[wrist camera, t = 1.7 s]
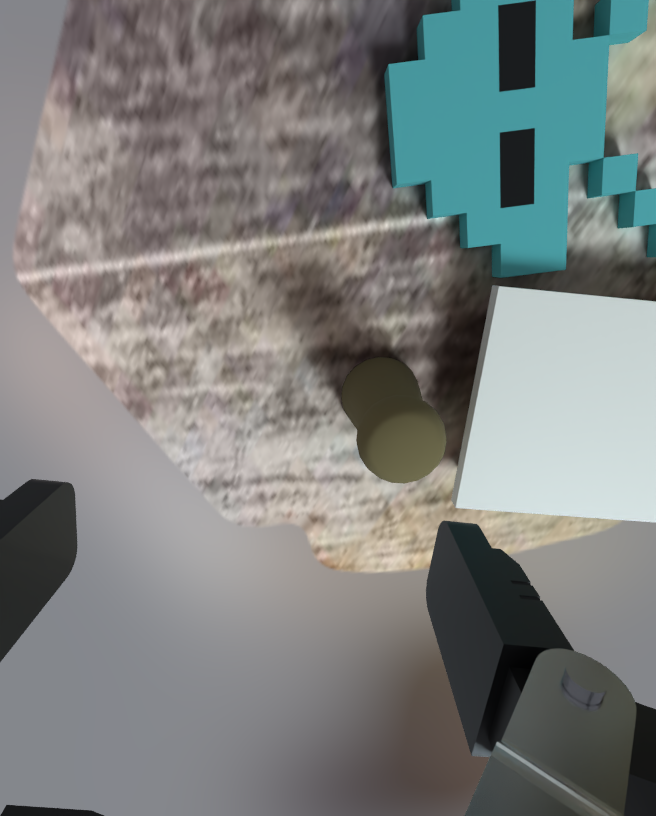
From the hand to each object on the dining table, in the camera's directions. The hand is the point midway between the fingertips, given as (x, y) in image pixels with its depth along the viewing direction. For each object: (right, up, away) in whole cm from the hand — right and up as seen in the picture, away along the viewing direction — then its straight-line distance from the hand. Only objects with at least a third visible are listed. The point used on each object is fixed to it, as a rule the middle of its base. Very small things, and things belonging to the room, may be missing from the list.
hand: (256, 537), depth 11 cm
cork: (+6, +4, +27) cm, 27 cm away
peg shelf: (+20, +4, +27) cm, 33 cm away
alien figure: (+15, +22, +21) cm, 35 cm away
